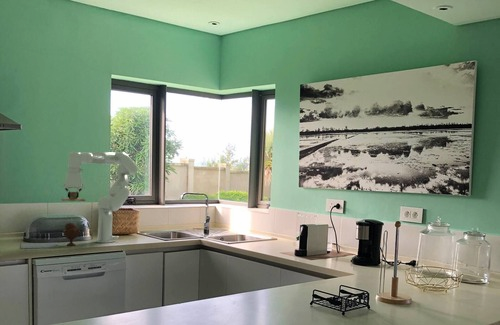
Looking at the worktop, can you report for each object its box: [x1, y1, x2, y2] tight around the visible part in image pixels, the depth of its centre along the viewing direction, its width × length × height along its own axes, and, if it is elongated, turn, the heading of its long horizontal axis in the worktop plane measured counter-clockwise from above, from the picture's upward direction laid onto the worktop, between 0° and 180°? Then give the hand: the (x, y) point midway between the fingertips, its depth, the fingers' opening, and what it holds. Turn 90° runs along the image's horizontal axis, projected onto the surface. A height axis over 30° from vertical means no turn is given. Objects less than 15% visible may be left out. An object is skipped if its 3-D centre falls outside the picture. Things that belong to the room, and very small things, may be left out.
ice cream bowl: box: [62, 222, 81, 247], centre depth 329 cm, size 11×11×15 cm
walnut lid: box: [60, 191, 86, 202], centre depth 329 cm, size 14×14×5 cm
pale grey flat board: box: [20, 242, 60, 250], centre depth 322 cm, size 22×18×1 cm
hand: (73, 198), depth 329 cm, fingers closed on walnut lid, 4 cm apart
